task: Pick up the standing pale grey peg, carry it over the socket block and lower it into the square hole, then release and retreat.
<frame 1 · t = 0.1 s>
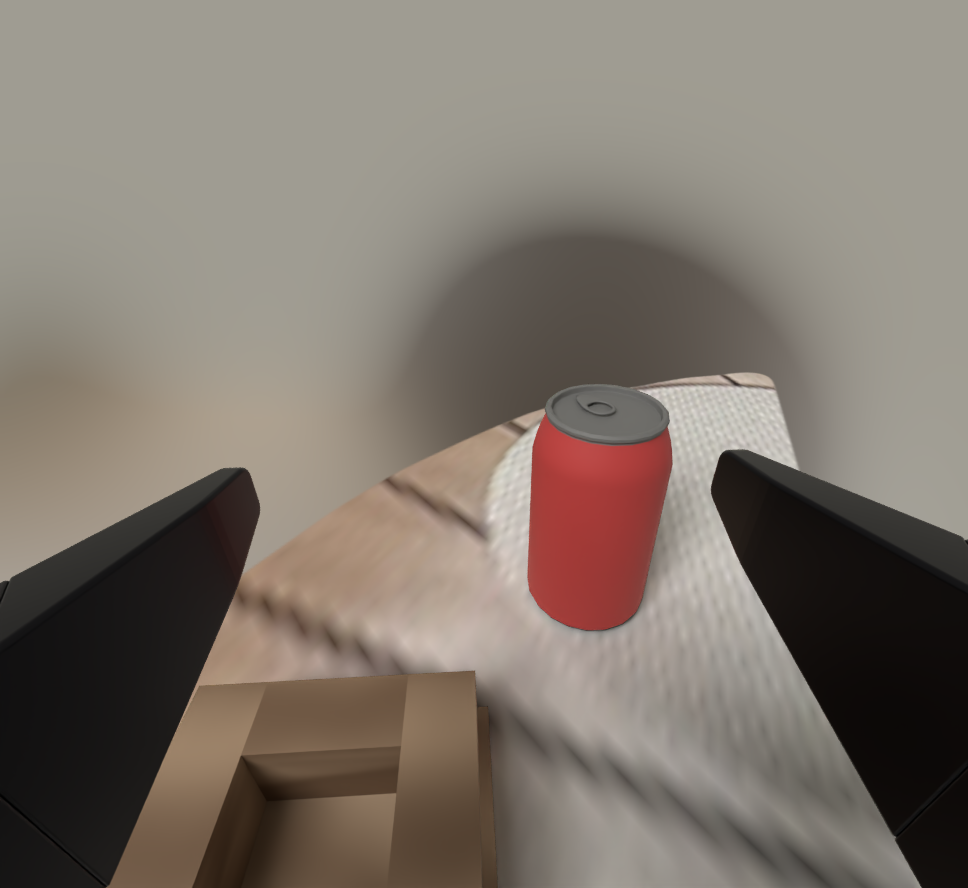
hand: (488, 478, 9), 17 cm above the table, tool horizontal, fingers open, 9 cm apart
beer can: (582, 591, 28), on the table
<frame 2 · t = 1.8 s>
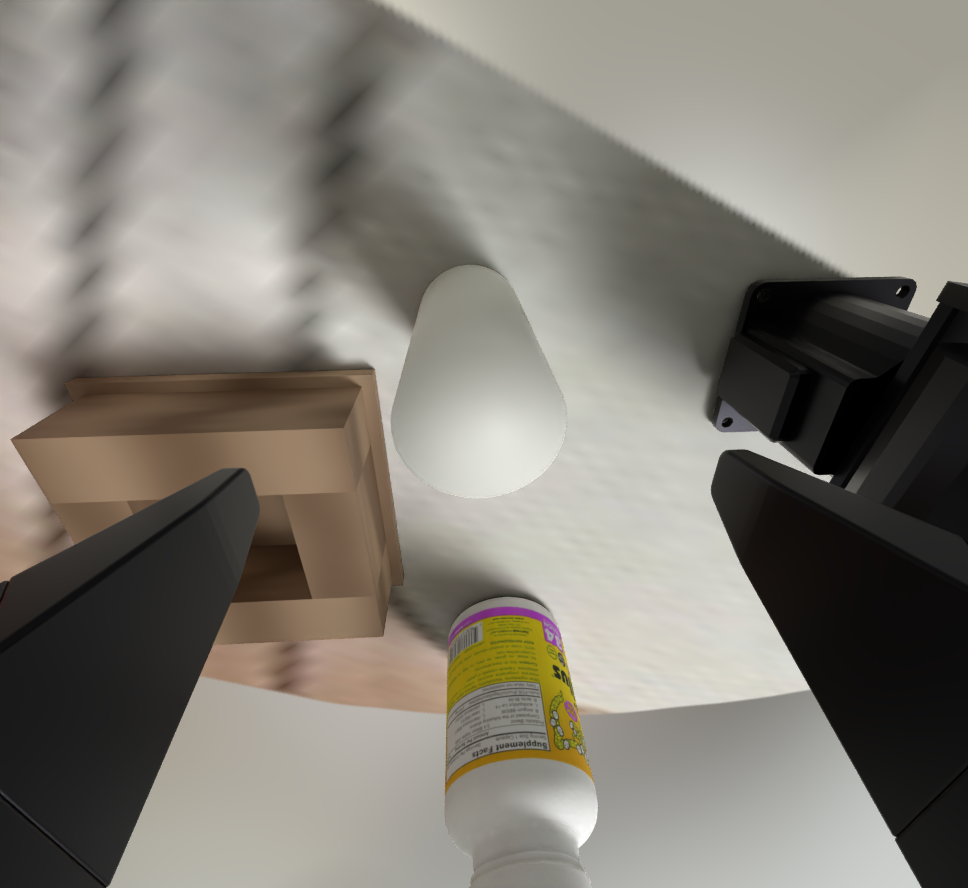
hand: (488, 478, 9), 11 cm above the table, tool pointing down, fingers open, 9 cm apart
supplement bottle: (503, 626, 28), on the table
peg: (470, 318, 18), on the table
socket: (263, 492, 22), on the table
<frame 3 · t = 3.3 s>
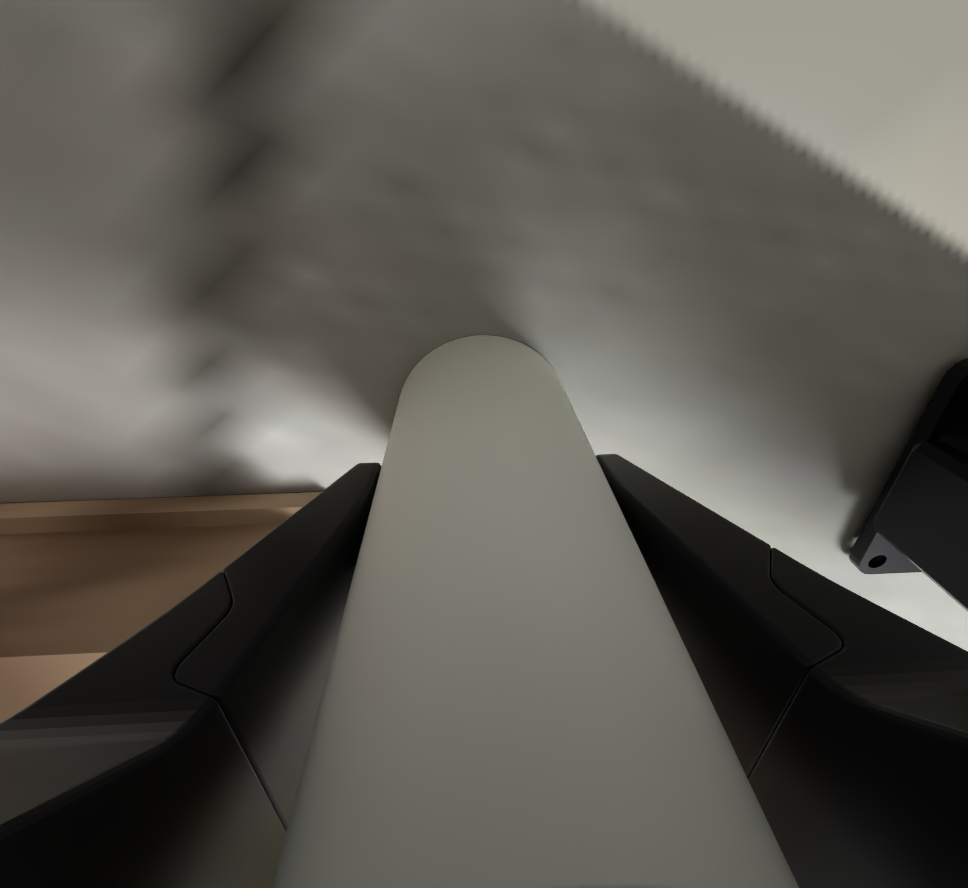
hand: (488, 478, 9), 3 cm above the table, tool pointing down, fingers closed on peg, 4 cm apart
peg: (482, 417, 11), on the table, touching gripper
socket: (173, 650, 15), on the table
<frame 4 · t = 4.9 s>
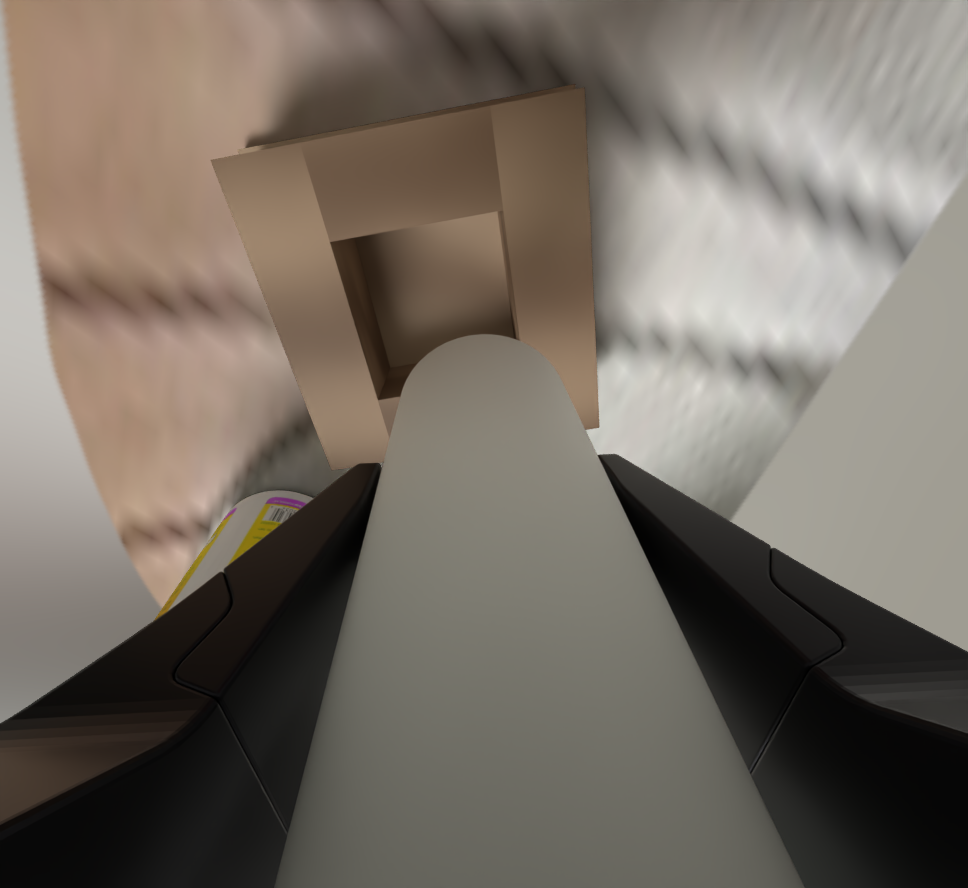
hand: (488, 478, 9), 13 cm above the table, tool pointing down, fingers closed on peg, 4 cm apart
supplement bottle: (292, 531, 26), on the table
peg: (483, 416, 11), point 10 cm above the table, touching gripper
socket: (439, 289, 20), on the table
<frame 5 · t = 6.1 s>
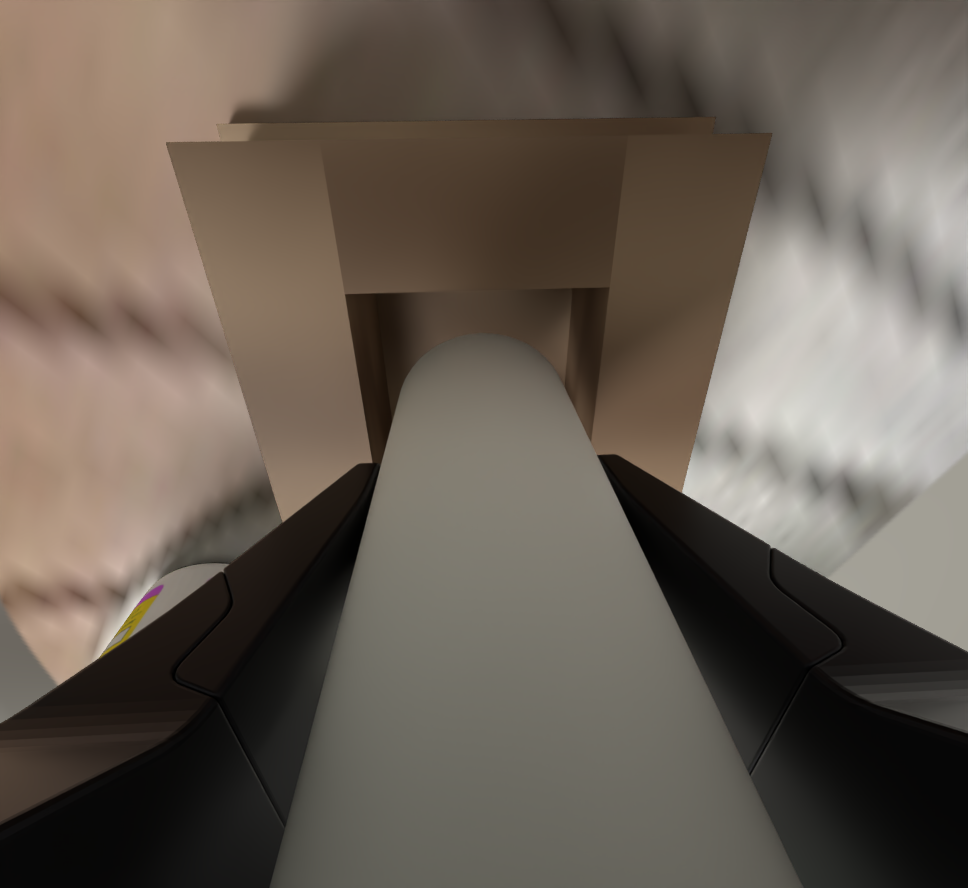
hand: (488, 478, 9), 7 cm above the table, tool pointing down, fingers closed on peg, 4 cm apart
supplement bottle: (236, 607, 21), on the table
peg: (482, 415, 11), point 4 cm above the table, touching gripper
socket: (475, 351, 15), on the table
when the fingers open (5 cm above the table, at t = 6.9 s): peg drops 1 cm, resting on socket.
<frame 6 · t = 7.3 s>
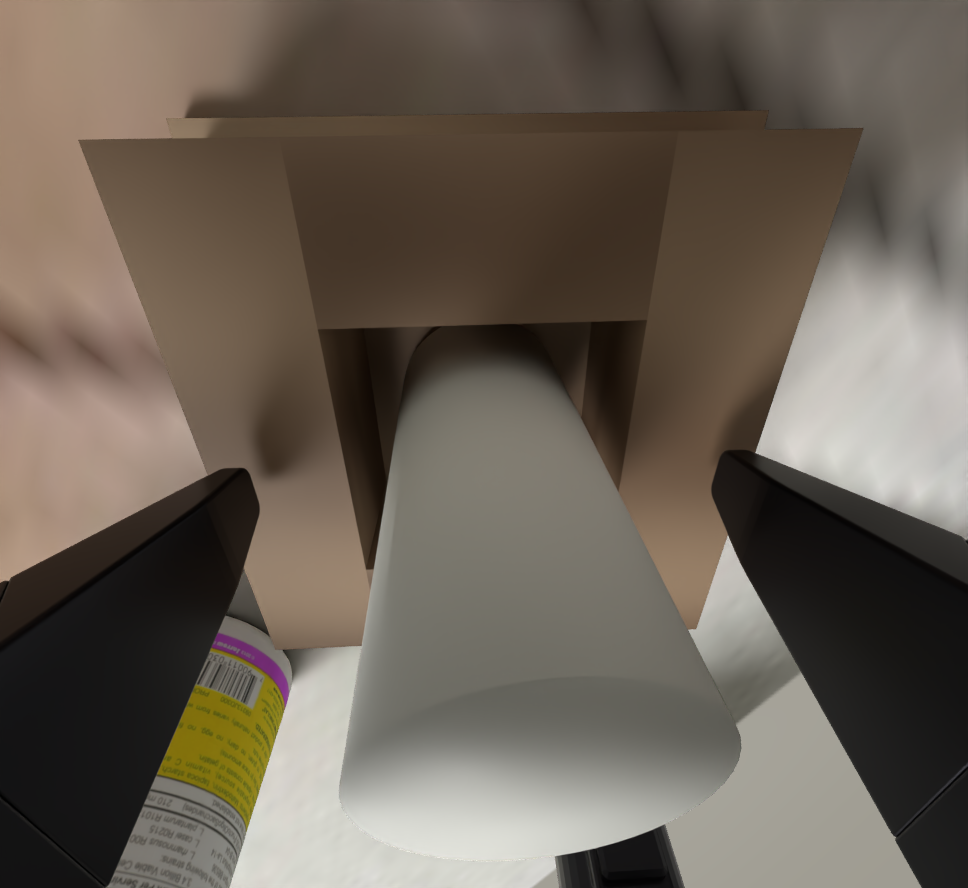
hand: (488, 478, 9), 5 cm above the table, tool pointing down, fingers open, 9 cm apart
supplement bottle: (214, 654, 19), on the table
peg: (480, 391, 12), point 1 cm above the table, touching socket
socket: (478, 381, 13), on the table
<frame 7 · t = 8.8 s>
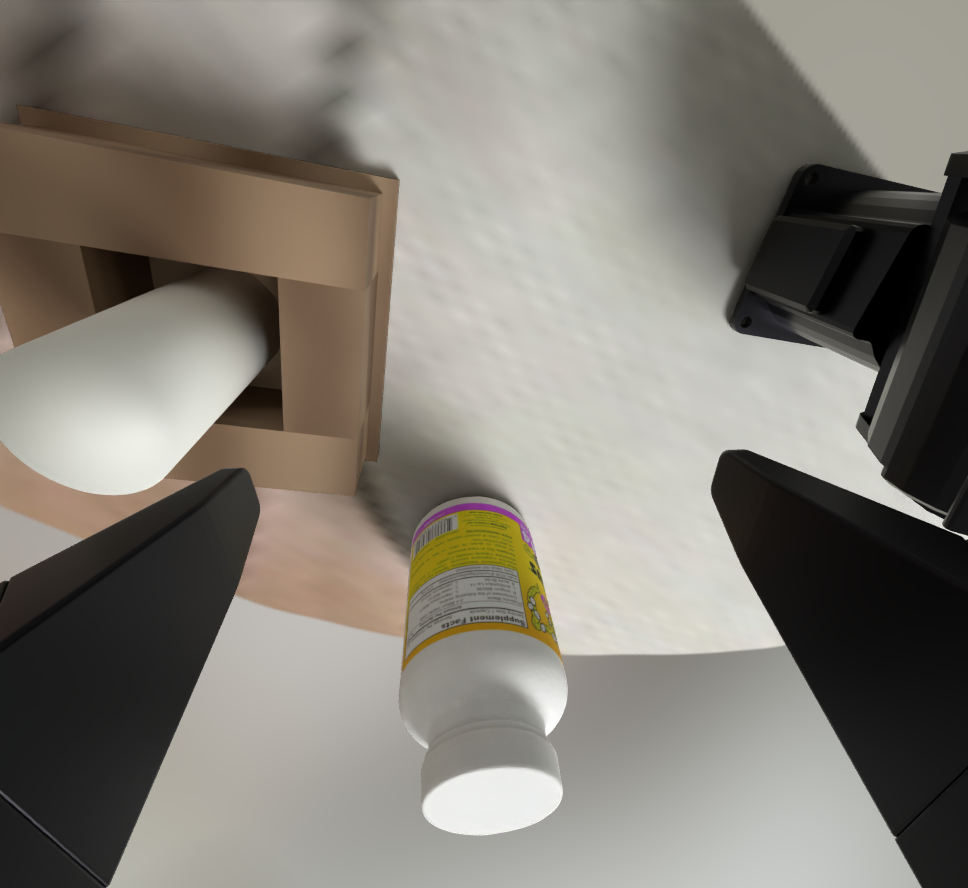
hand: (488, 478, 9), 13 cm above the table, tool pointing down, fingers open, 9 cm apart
supplement bottle: (471, 535, 26), on the table
peg: (233, 319, 19), point 1 cm above the table, touching socket
socket: (239, 316, 19), on the table
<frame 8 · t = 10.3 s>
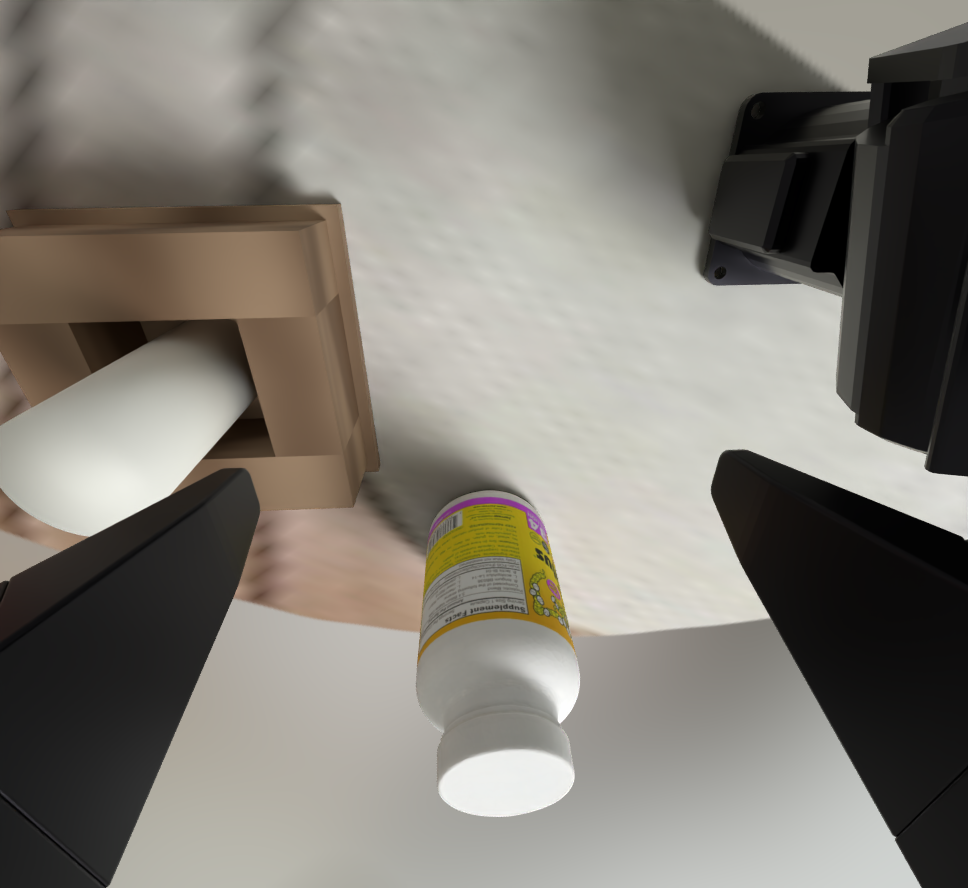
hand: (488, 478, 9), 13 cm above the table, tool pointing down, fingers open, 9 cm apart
supplement bottle: (486, 529, 27), on the table
peg: (221, 361, 20), point 1 cm above the table, touching socket
socket: (228, 357, 21), on the table
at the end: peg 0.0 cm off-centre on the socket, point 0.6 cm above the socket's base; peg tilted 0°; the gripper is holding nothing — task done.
